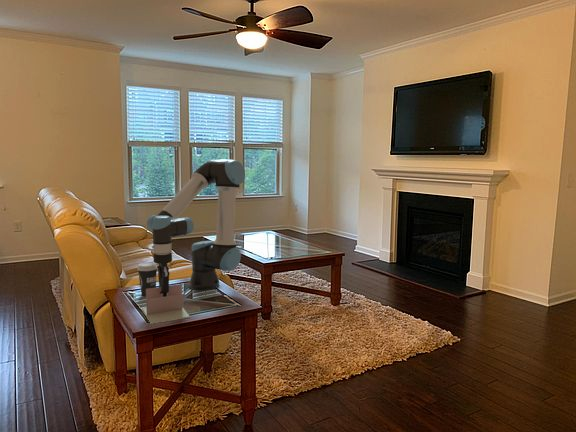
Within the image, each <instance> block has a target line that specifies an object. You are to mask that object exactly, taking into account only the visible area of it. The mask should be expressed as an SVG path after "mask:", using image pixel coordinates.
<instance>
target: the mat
mask: <svg viewBox="0 0 576 432" xmlns="http://www.w3.org/2000/svg"><path fill="white" fill-rule="evenodd" d="M141 309H142V311H143V313H144V315H145V317H146V319H147V320H149V321H148V323H149V322H150V323H149V324H150V325H154V324H153V323H155V324H159V322H161V323H166V322H165V321H167V322H172V320H173V321H178V319H179V320H184V319H189V318H191V316H190V315H189V313H188V312H187V310H185V308H184V307H183V308H182V309H179V310H173V311H167V312H161V313H154V314H148V315H147V308H146V306H143V307H142V308H141Z"/></svg>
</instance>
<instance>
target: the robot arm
mask: <svg viewBox="0 0 576 432" xmlns="http://www.w3.org/2000/svg"><path fill="white" fill-rule="evenodd" d="M245 179H246V170H245V167H244V165H243V164H242V163H241V162H240V161H239V160H236V159H216V158H215V159H210V160H207V161H206V162H205V163H203V164H202V165H200V166H199V167H198V168H197V169H196V170H195V171H194V172H193V173H192V174H191V178H190V179H189V180H188V181H187V182H186V183H185V184H184V186H183V187H182V188H180V190H179V191H178V192H177V193H176V194H175V196H173V197H172V199H170V201H168V203H167V204H166V205H165V206H164V207H163V208H162V209H161V211H159V213H158V214H153V215H150V216H149V217H148V218H147V221H146V226H147V228H148V230H149V231H151V233H152V244H153V245H151V249H153V250H152V251H153V257H152V259H153V263H156V265H157V264H158V265H157V276H158V279H157V280H158V287H161V292H160V294H161V297H166V296H168V292H169V286H170V268H169V266H168V264H169V263H172V261H173V253H172V252H173V243H172V240H173V239H172V238H174V237H175V238H176V237H181V236H186V235H190V234H191V233H192V232H193V231H194V230H195V229H194V227H195V226H194V224H195V223H194V222H193V220H192V218H190V217H184V216H182V217H179V216H180V215H182V213H183V212H184V211H185V210H186V209H187V208H188V207H189V205H190V204H191V203H192V202H193V201H194V199H195V198H197V196H198V195H199V194H200V192H202V191H203V190H204V189H207V188H208V187H209V186H211V185H212V184H215V189H217V193H218V196H217V197H218V198H217V213H216V214H217V218H216V233H215V234H216V236H215V239H214V240H203V241H198V242H193V243H192V245H191V267H192V268H191V269H192V272H191V275H190V279H189V285H188V286H189V288H190V289H192V290H195V291H206V290H207V291H208V290H213V289H216V288H218V287H219V286H220V278H219V276H218V274H217V271H216V270H220V271H223V272H232V271H234V270H235V269H236V268H237V267H238V266H239V265H240V262H241V258H242V252H241V251H240V249H239V248H237V242H236V241H235V240H234V238H235V223H236V220H235V219H236V200H237V191H238V190H239V189H240V185H241V184H243V182H244V181H245Z"/></svg>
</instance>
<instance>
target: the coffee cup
mask: <svg viewBox="0 0 576 432" xmlns="http://www.w3.org/2000/svg"><path fill="white" fill-rule="evenodd" d="M157 266H158V265H157V263H154V261H153V262H152V261H151V262H150V261H147V262H146V261H145V262H141V263H139V264H138V266H137V268H136V270H137V272H138V279H139V287H140V293H141V297H146V289H149V288H156V287H157V275H158V268H157Z"/></svg>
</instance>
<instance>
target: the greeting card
mask: <svg viewBox="0 0 576 432" xmlns="http://www.w3.org/2000/svg"><path fill="white" fill-rule="evenodd" d="M182 287H183V283H180V284H179V283H178V284H172V285H169V292H168V296H166V297H161V294H160V292H161V287H159V286H158V287H157V286H156V288H149V289H146V296H145V299H146V300H145V303H146V304H145V305H146V306H145V307H146V308H147V315H148V314H154V313H161V312H167V311H173V310H179V309H182V308H184V303H185V298H186V293H183V288H182Z"/></svg>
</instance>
